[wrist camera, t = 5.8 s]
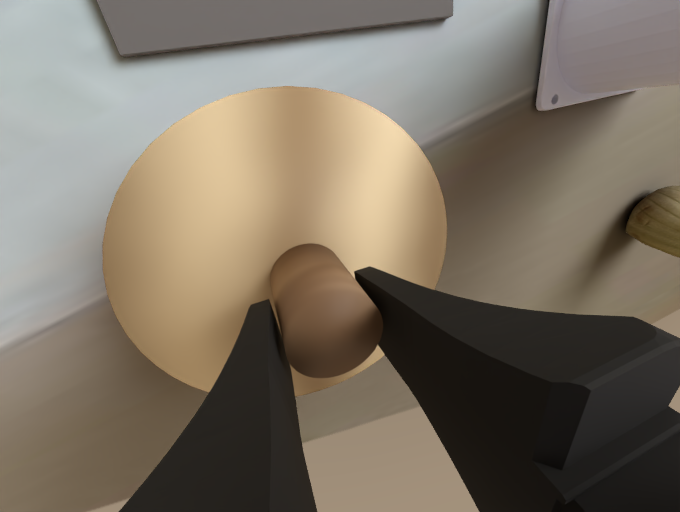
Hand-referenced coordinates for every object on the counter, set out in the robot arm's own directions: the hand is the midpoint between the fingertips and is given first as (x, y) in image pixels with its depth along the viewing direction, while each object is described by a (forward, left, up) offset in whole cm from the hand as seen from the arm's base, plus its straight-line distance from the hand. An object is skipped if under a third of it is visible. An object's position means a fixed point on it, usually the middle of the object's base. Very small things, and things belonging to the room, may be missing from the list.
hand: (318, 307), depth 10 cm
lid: (0, -1, -2) cm, 2 cm away
